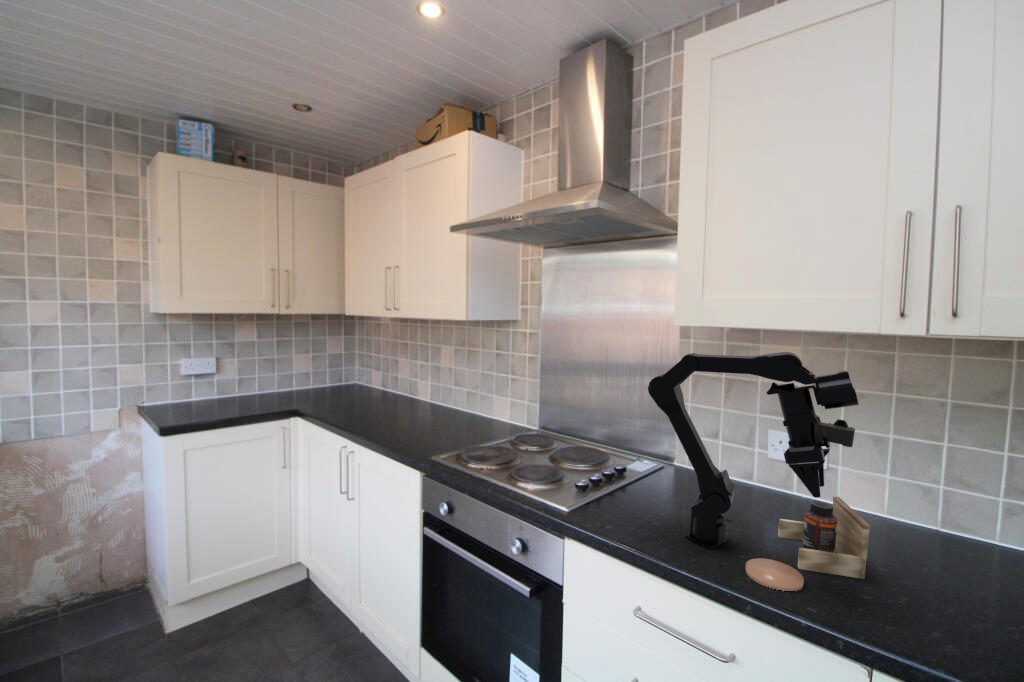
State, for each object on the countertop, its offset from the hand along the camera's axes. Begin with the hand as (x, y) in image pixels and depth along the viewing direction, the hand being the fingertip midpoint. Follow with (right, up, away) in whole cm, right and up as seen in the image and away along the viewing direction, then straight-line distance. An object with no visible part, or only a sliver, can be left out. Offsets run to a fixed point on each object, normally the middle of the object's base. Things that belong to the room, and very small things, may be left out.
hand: (819, 491), depth 96 cm
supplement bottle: (+5, -16, +8) cm, 19 cm away
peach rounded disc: (-10, -16, -1) cm, 19 cm away
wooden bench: (+5, -16, +8) cm, 19 cm away
